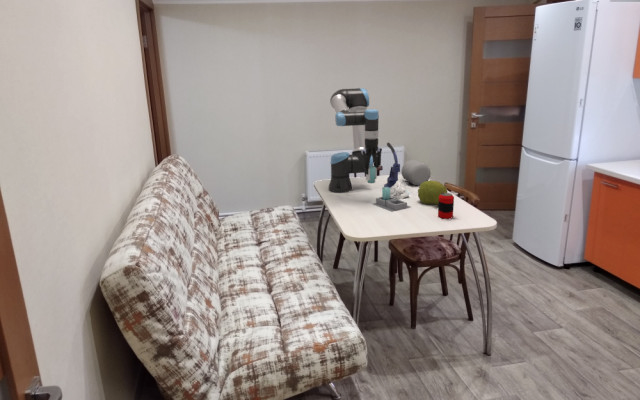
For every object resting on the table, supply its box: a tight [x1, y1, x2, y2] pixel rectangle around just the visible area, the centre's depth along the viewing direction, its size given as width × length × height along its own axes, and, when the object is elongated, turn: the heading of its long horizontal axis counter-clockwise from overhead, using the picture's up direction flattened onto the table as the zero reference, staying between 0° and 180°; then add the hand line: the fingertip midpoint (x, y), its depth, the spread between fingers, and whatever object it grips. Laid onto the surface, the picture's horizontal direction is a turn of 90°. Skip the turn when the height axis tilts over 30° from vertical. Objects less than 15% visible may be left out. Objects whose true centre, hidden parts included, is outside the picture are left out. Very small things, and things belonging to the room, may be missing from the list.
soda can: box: [437, 192, 455, 220], centre depth 241 cm, size 8×8×12 cm
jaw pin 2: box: [381, 186, 390, 201], centre depth 263 cm, size 4×4×9 cm
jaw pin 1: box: [366, 165, 376, 184], centre depth 265 cm, size 4×4×9 cm
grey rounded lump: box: [400, 159, 432, 187], centre depth 310 cm, size 19×15×25 cm
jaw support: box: [390, 182, 410, 200], centre depth 275 cm, size 12×9×10 cm
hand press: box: [383, 142, 401, 188], centre depth 295 cm, size 19×9×28 cm, turn 10°
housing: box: [372, 196, 412, 213], centre depth 260 cm, size 18×14×4 cm
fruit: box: [417, 179, 448, 206], centre depth 262 cm, size 16×14×15 cm
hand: (371, 179), depth 266 cm, fingers closed on jaw pin 1, 4 cm apart
